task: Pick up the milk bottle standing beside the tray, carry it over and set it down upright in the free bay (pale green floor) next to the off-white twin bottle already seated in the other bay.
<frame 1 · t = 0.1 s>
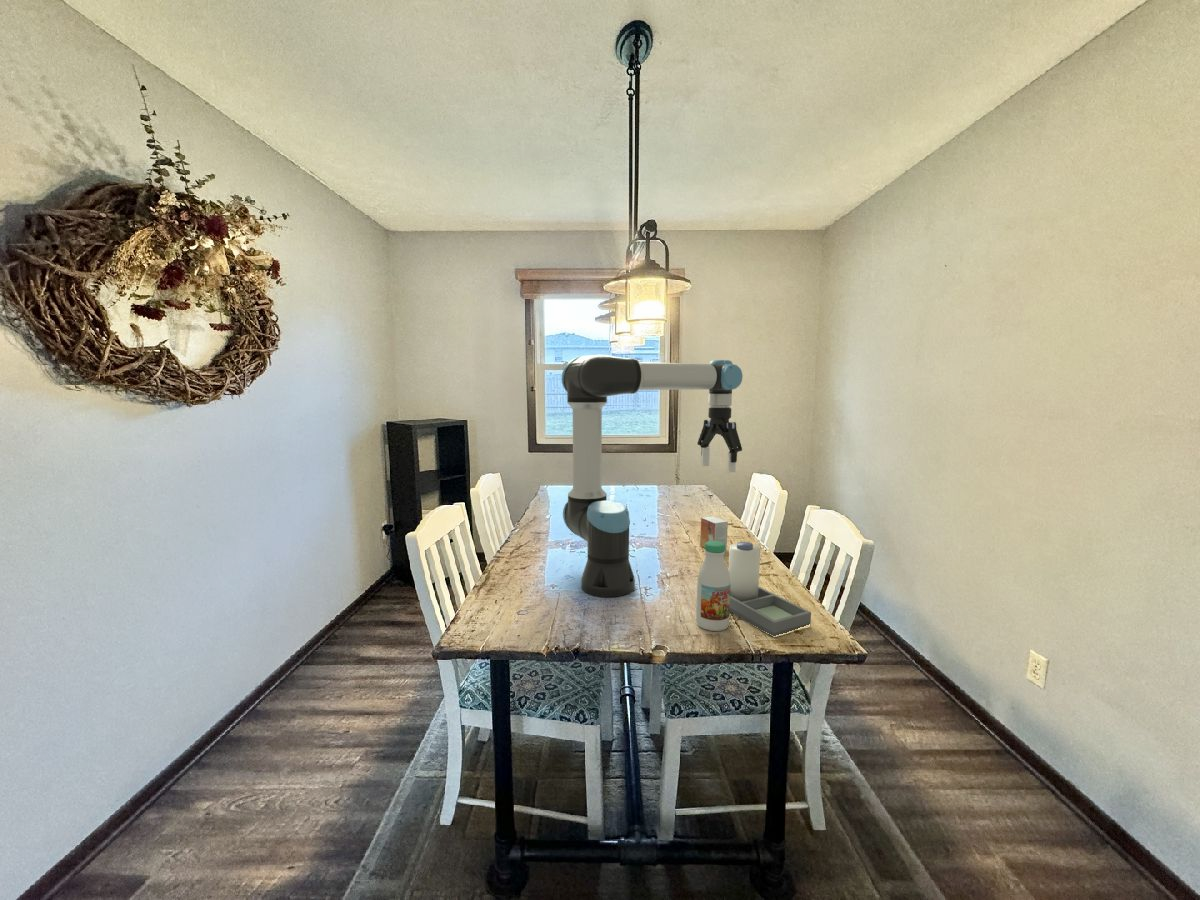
hand: (717, 469, 172), 28 cm above the table, fingers open, 13 cm apart
tray: (757, 612, 126), on the table
small box: (713, 549, 175), on the table
twin bottle: (742, 604, 131), resting on tray
milk bottle: (712, 625, 120), on the table
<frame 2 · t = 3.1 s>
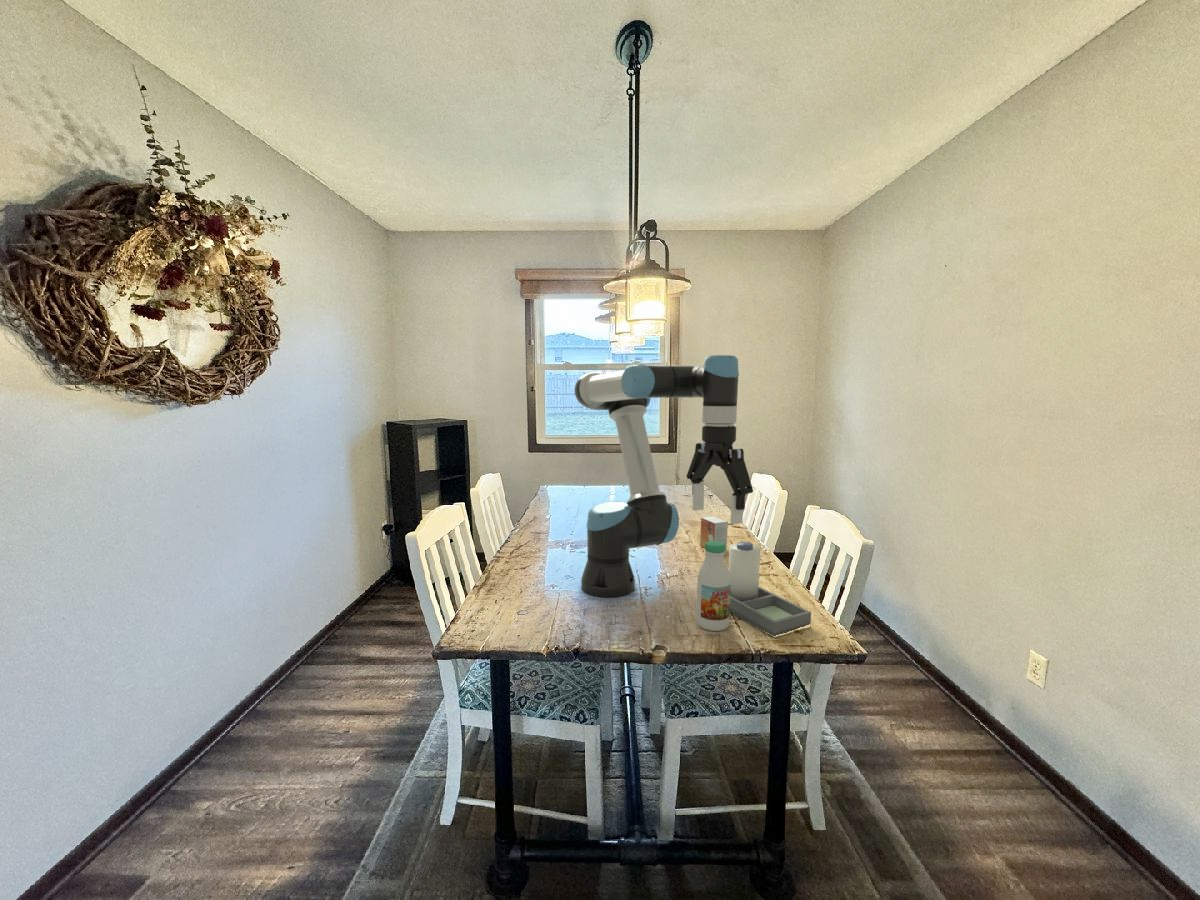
hand: (716, 516, 116), 26 cm above the table, fingers open, 13 cm apart
nothing on the table moved.
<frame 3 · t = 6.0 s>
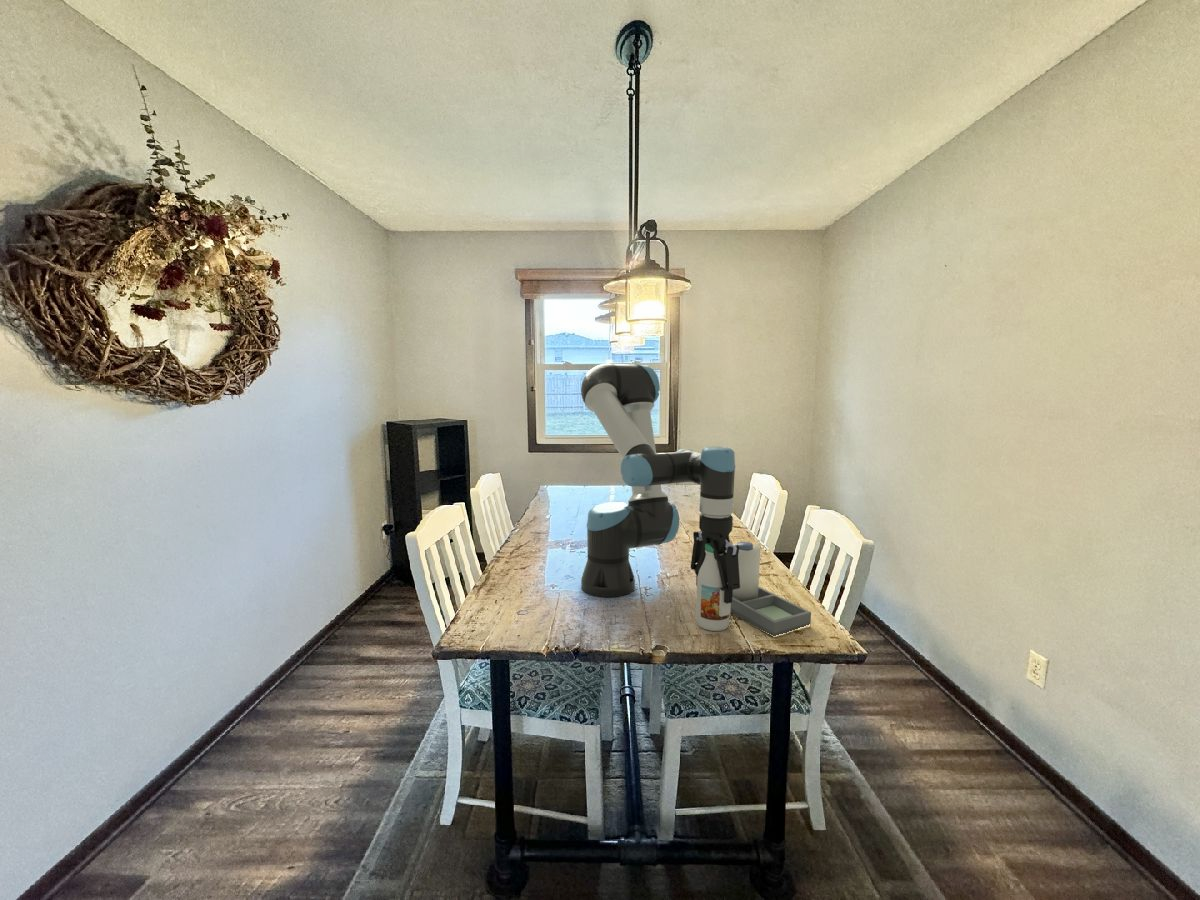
hand: (712, 607, 119), 4 cm above the table, fingers closed on milk bottle, 8 cm apart
milk bottle: (712, 625, 120), on the table, touching gripper
everything else where it was.
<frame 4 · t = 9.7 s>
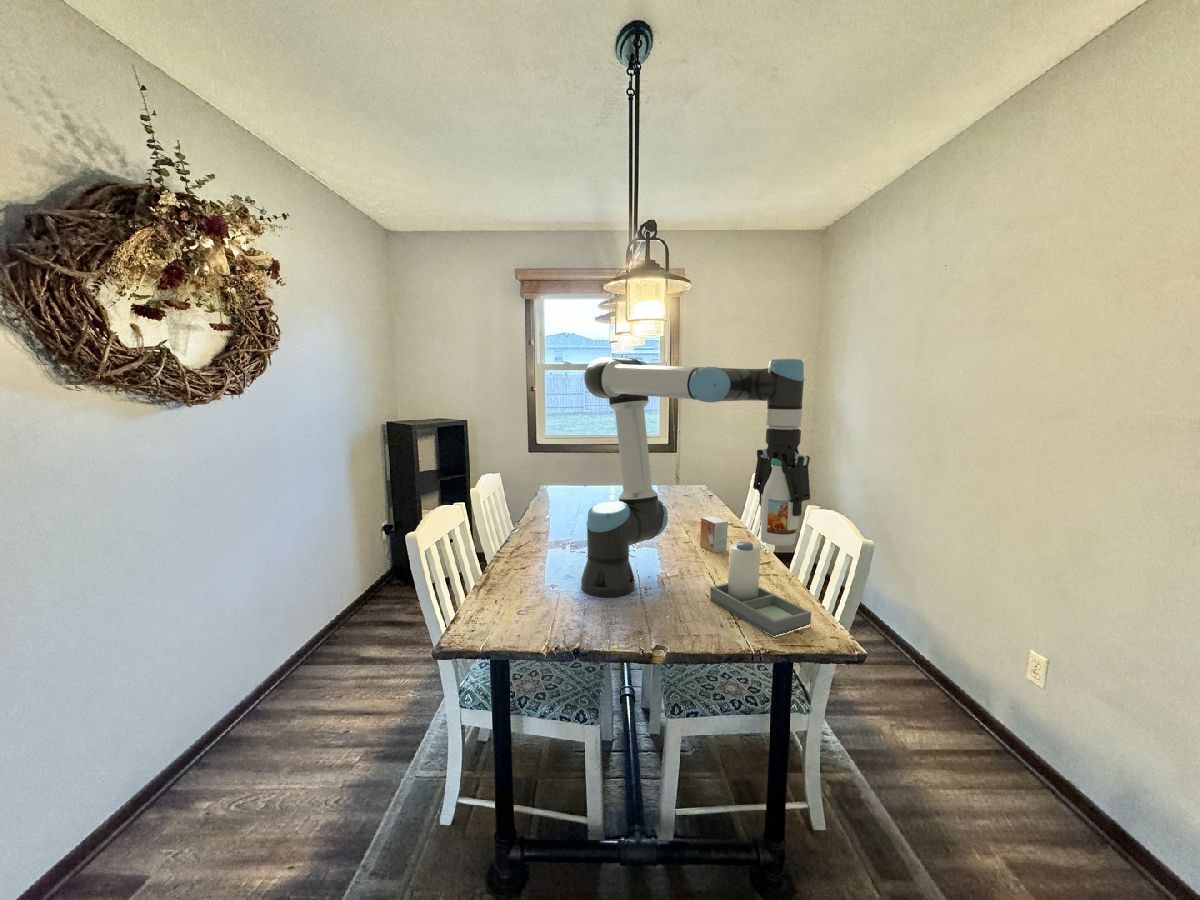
hand: (778, 524, 118), 24 cm above the table, fingers closed on milk bottle, 8 cm apart
milk bottle: (777, 542, 119), point 20 cm above the table, touching gripper
everything else where it was.
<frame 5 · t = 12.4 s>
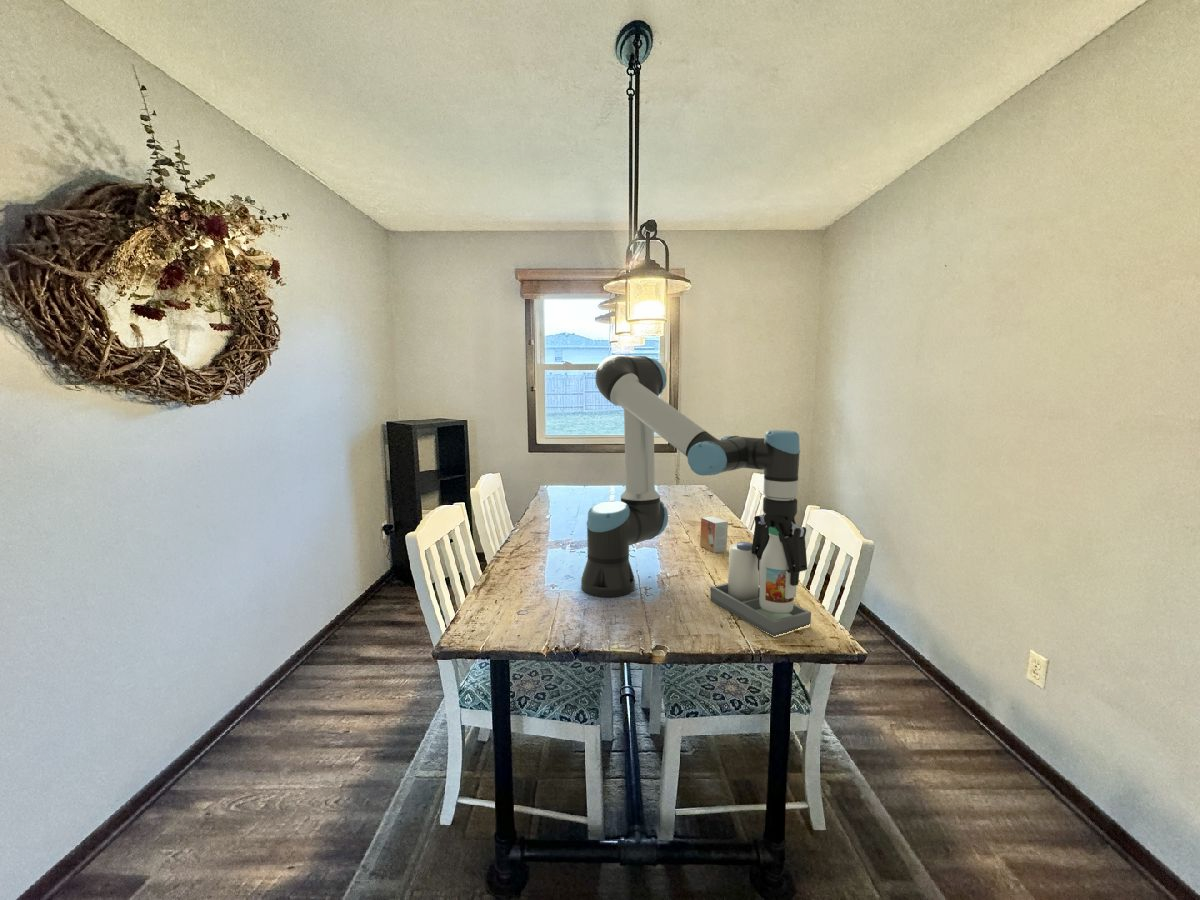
hand: (776, 590, 120), 8 cm above the table, fingers closed on milk bottle, 8 cm apart
milk bottle: (775, 608, 120), point 4 cm above the table, touching gripper
everything else where it was.
when the fingers open (7 cm above the table, at t = 13.6 s): milk bottle drops 1 cm, resting on tray.
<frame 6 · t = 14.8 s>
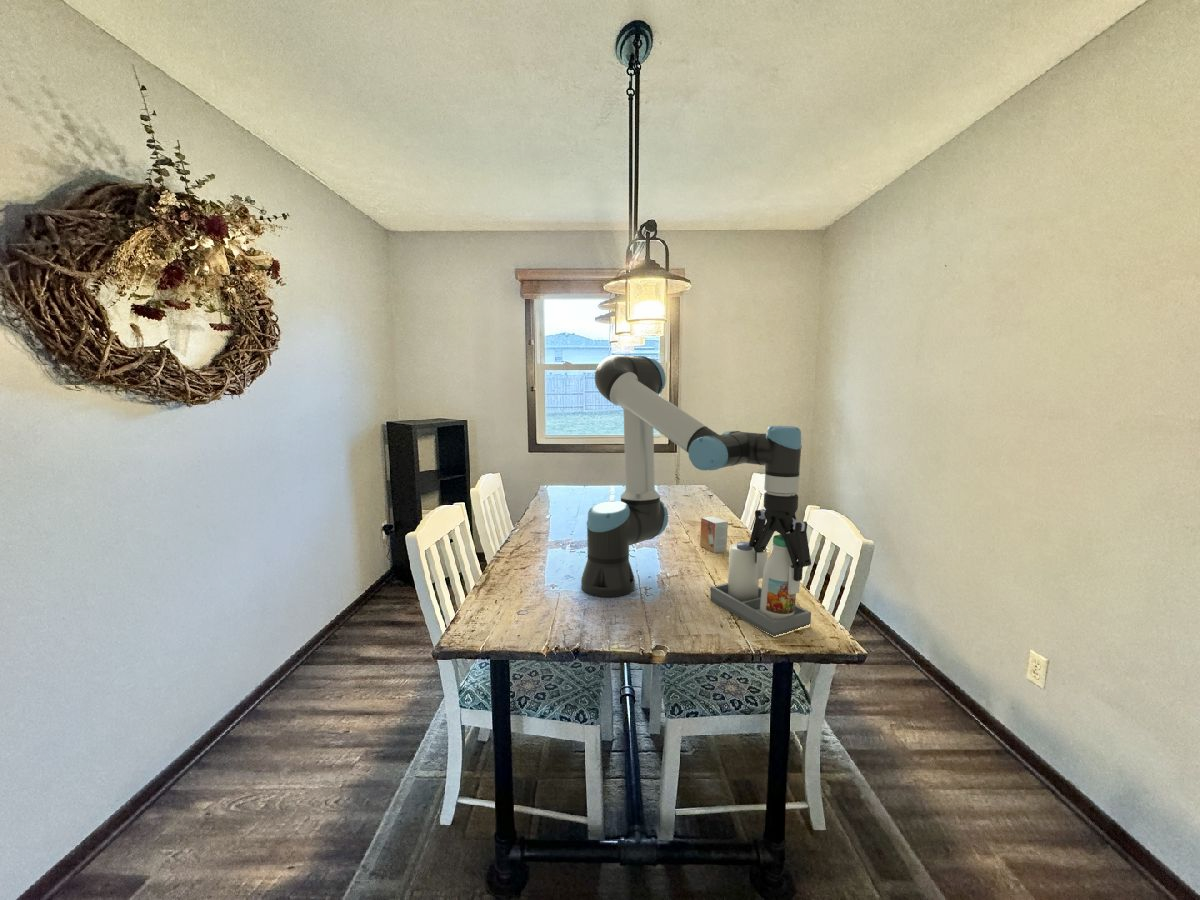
hand: (776, 585, 119), 10 cm above the table, fingers open, 9 cm apart
milk bottle: (776, 618, 120), point 1 cm above the table, touching tray
everything else where it was.
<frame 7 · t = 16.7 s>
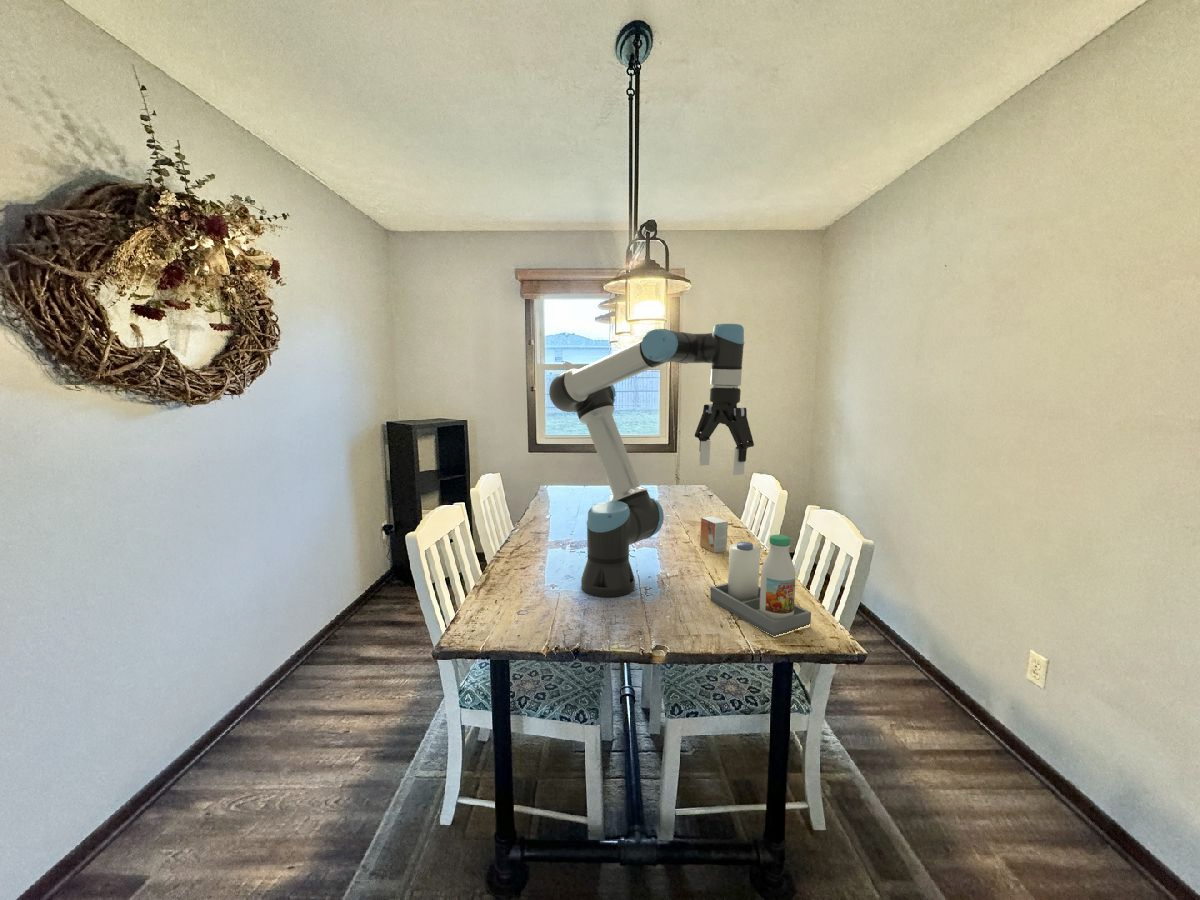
hand: (720, 469, 130), 35 cm above the table, fingers open, 13 cm apart
nothing on the table moved.
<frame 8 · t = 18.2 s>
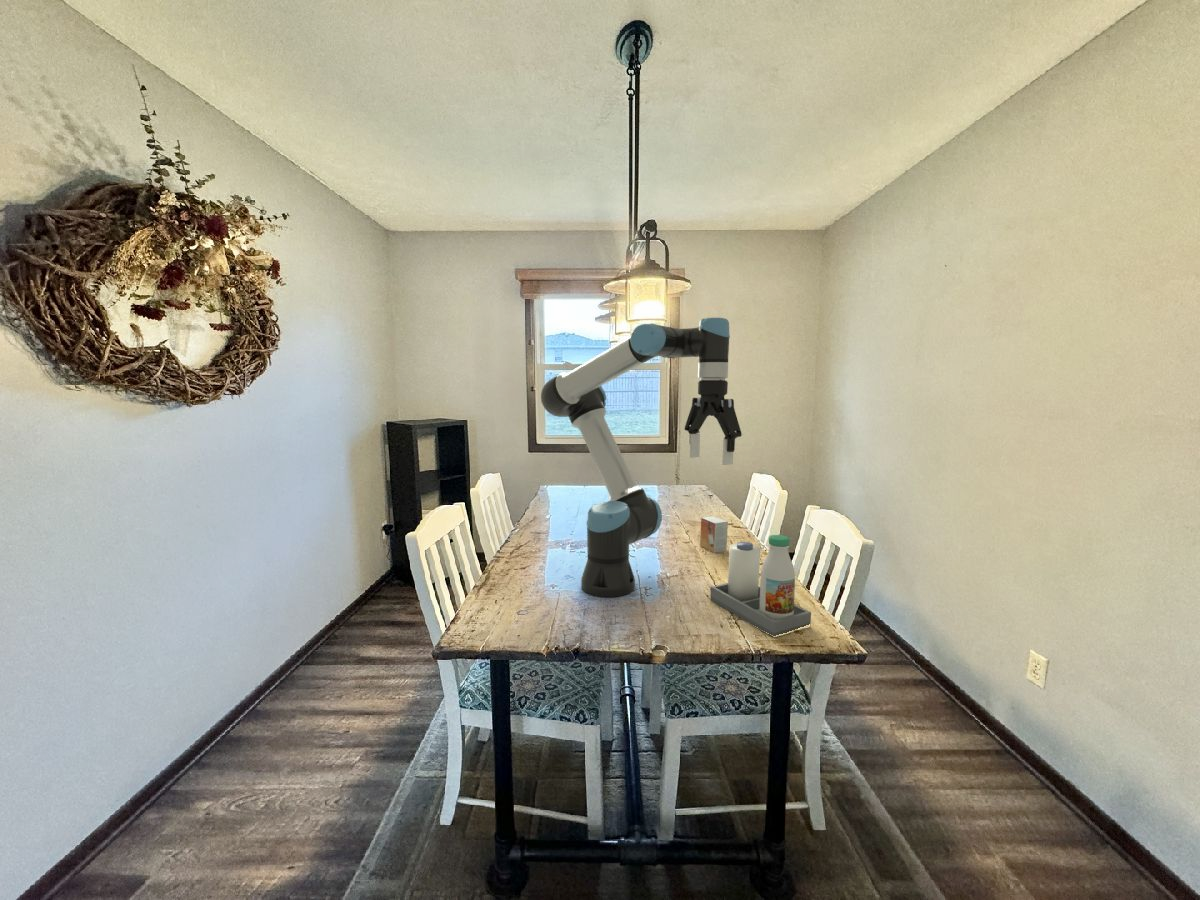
hand: (710, 460, 133), 37 cm above the table, fingers open, 13 cm apart
nothing on the table moved.
at the end: milk bottle inside the target area on the tray (0.8 cm from its centre), point 1.1 cm above the tray's base; milk bottle tilted 1°; the gripper is holding nothing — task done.
